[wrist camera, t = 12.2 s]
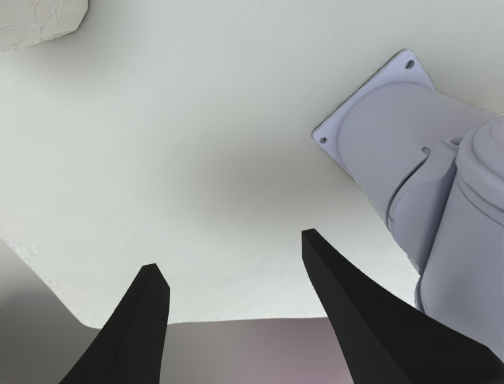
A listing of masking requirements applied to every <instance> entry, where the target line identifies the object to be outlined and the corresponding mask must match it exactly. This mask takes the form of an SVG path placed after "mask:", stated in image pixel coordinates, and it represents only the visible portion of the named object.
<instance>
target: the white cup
mask: <svg viewBox="0 0 504 384" xmlns="http://www.w3.org/2000/svg"><path fill="white" fill-rule="evenodd" d="M87 10H88V0H0V52H3V51H7V50H11V49H17V48H21V47H26V46H30V45H34V44H37V43H39V42H40V41H46V40H52V39H56V38H59V37H61V36H64V35H66V34H69V33H71V32H74V31H76V30H77V28H78V27H79V25H80V23H81V21H82V19H83V17H84V16H85V14H86V12H87Z"/></svg>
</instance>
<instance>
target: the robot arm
mask: <svg viewBox="0 0 504 384" xmlns="http://www.w3.org/2000/svg"><path fill="white" fill-rule="evenodd" d="M410 60H411V64H410V66H409V67H408V68H406V64H407V62H408V61H410ZM323 137H325V138H326V139H325V140H324V141H320V140H321V138H323ZM312 138H313V139H314V141H315V142H316V143H317V144H318V145H319V146H320V147H321V148H322V149H323V150H324V151H325V152H326V153H327V154H328V155H329V156H331V157H332V158H333V159H334V160H335V161H336V162H337V163H338V164H339V165H340V166H341V167H342V168H343V169H344V170H345V171H346V172H347V173H348V174H349V175H350V176H351V177H352V178H353V179H354V180H355V181H356V182H357V183H358V185H359V186H360V188H361V189H362V191H363V192H364V194H365V195H366V197H367V198H368V200H369V201H370V203H371V204H372V206H373V207H374V209H375V210H376V212H377V213H378V215H379V216H380V218H381V219H382V221H383V222H384V224H385V225H386V227H387V228H388V230H389V231H390V233H391V234H392V236H393V238H394V239H395V241H396V242H397V243H398V245H399V246H400V247H401V248H402V249H403V250H404V251H405V252H406V253H407V257H408V259H409V260H410V262H411V263H412V265H413V266H414V268H415V269H416V270H417V272H418V273H419V275H420V278H419V280H418V282H417V284H416V288H415V293H414V295H415V306H416V308H414V307H413V306H411V305H409V304H408V303H406V302H404V301H403V300H401V299H399V298H398V297H396V296H395V295H393V294H392V293H390V292H389V291H387V290H386V289H384V288H383V287H382V286H380V285H379V284H377V283H376V282H375V281H373V280H372V279H371V278H369V277H368V276H367V275H365V274H364V273H363V272H362V271H360V270H359V269H358V268H357V267H355V266H354V265H353V264H352V263H351V262H349V261H348V260H347V259H346V258H345V257H344V256H343V255H341V254H340V253H339V252H338V251H337V250H336V249H335V248H334V247H333V246H332V245H330V244H329V243H328V242H327V241H326V240H325V239H324V238H323V237H322V236H321V235H320V234H319V233H318V232H317V231H316V230H315V229H314V228H313V229H308V230H304V231H302V259H303V262H304V265H305V268H306V271H307V273H308V276H309V278H310V281H311V283H312V285H313V287H314V289H315V291H316V293H317V295H318V297H319V299H320V301H321V303H322V305H323V307H324V309H325V311H326V313H327V316H328V318H329V320H330V322H331V324H332V326H333V328H334V331H335V334H336V336H337V339H338V341H339V344H340V346H341V349H342V352H343V355H344V357H345V360H346V363H347V365H348V368H349V371H350V374H351V376H352V379H353V382H354V384H504V115H503V116H500V115H497V114H494V113H492V112H489V111H487V110H484V109H481V108H479V107H476V106H473V105H471V104H468V103H465V102H463V101H460V100H458V99H455V98H452V97H450V96H447V95H444V94H442V93H439V92H437V90H436V88H435V87H434V85H433V83H432V82H431V80H430V79H429V77H428V75H427V74H426V72H425V70H424V69H423V67H422V65H421V64H420V62H419V60H418V59H417V57H416V55H415V54H414V52H413V51H412V50H407V49H405V50H402V51H401V52H399V53H398V54H397V55H396V56H395V57H394V58H393V59H392V60H391V61H390V62H388V63H387V64H386V65H385V66H384V67H383V68H382V69H381V70H380V71H379V72H378V73H376V74H375V75H374V76H373V77H372V78H371V79H370V80H369V81H368V82H367V83H366V84H364V85H363V86H362V87H361V88H360V89H359V90H358V91H357V92H356V93H355V94H354V95H353V96H351V97H350V98H349V99H348V100H347V101H346V102H345V103H344V104H343V105H342V106H341V107H339V108H338V109H337V110H336V111H335V112H334V113H333V114H332V115H331V116H330V117H329V118H327V119H326V120H325V121H324V122H323V123H322V124H321V125H320V126H319V127H318V128H317V129H315V130H314V132H313V133H312ZM169 304H170V287H169V285H168V284H167V282H166V280H165V279H164V277H163V275H162V273H161V272H160V270H159V268H158V266H157V265H156V263H154V264H149V265H144V266H142V268H141V269H140V271H139V272H138V274H137V276H136V277H135V279H134V280H133V282H132V284H131V285H130V287H129V289H128V290H127V292H126V293H125V295H124V297H123V298H122V300H121V301H120V303H119V304H118V306H117V307H116V309H115V311H114V312H113V314H112V315H111V317H110V318H109V320H108V321H107V322H106V324H105V325H104V327H103V328H102V330H101V331H100V332H99V334H98V335H97V337H96V338H95V339H94V341H93V342H92V343H91V345H90V346H89V347H88V349H87V350H86V351H85V353H84V354H83V355H82V356H81V358H80V359H79V360H78V362H77V363H76V364H75V365H74V367H73V368H72V369H71V370H70V371H69V372H68V374H67V375H66V376H65V377H64V378H63V379H62V381H61V382H60V383H59V384H159V381H160V380H159V379H160V369H161V360H162V354H163V348H164V341H165V335H166V328H167V322H168V315H169Z"/></svg>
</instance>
